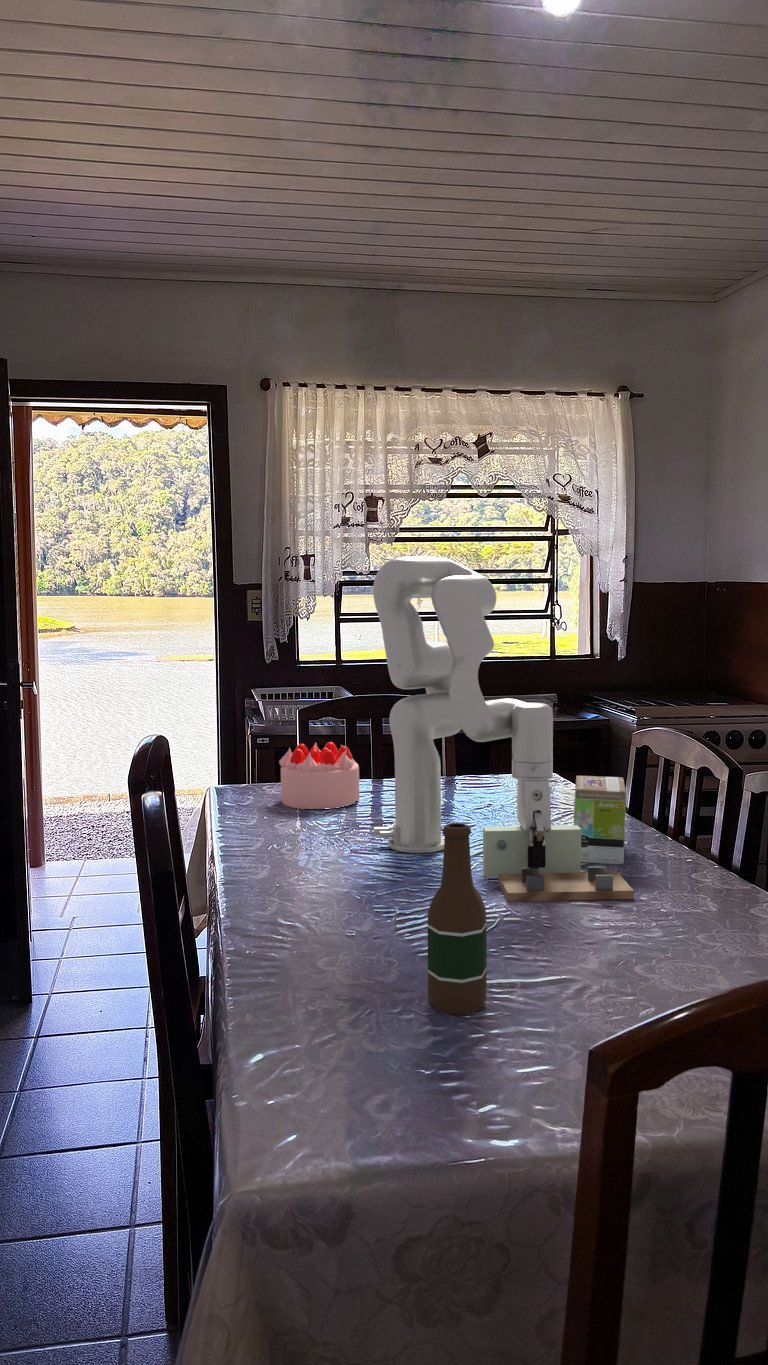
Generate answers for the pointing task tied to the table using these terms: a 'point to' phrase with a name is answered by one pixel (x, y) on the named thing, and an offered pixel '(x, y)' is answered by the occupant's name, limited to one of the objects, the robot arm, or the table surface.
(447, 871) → the beer bottle
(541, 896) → the cabinet side
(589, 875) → the hinge clips
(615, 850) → the tea box
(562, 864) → the door
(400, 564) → the robot arm
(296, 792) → the cake
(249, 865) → the table surface
